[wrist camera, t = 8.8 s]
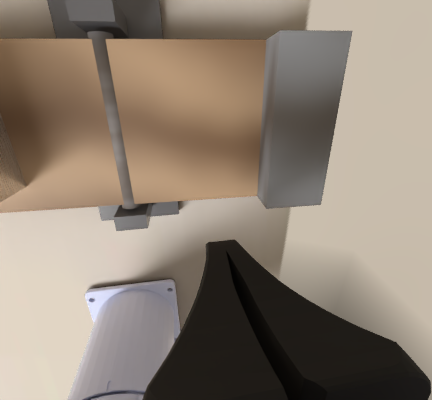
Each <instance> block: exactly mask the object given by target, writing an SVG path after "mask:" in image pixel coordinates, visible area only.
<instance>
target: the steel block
mask: <svg viewBox="0 0 432 400" xmlns="http://www.w3.org/2000/svg"><path fill="white" fill-rule="evenodd" d="M25 187H27V185H26V183H25V180H24V177H23V175H22V172H21V169H20V166H19V164H18V161H17V158H16V155H15V153H14V150H13V147H12V145H11V142H10V139H9V136H8V134H7V131H6V128H5V125H4V123H3V120H2V117H1V115H0V202H2V201H3V200H5V199H7V198H8V197H10V196H12V195H14V194H15V193H17V192H19V191H20V190H22V189H24V188H25Z"/></svg>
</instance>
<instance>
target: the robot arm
mask: <svg viewBox="0 0 432 400" xmlns="http://www.w3.org/2000/svg"><path fill="white" fill-rule="evenodd" d="M168 288H172V289H168ZM85 298H86V301H87V304H88V307H89V310H90V313H91V316H92V319H93V322H94V325H93V328H92V331H91V334H90V336H89V339H88V342H87V345H86V348H85V351H84V353H83V356H82V359H81V362H80V365H79V368H78V370H77V373H76V376H75V379H74V382H73V384H72V387H71V390H70V393H69V396H68V399H67V400H428V398H429V396H430V393H431V383H430V380H429V379H428V377H427V376H426V375H425V374H424V372H423V371H422V370H421V369H420V368H419V367H418V366H417V365H416V363H415V362H414V361H413V360H412V359H411V358H410V357H409V356H408V354H407V353H406V352H405V351H404V350H403V349H402V348H401V347H400V346H399V345H398V344H397V343H396V342H393V341H392V340H389V339H387V338H384V337H382V336H380V335H377V334H375V333H373V332H370V331H368V330H365V329H363V328H360V327H358V326H356V325H354V324H352V323H350V322H348V321H346V320H344V319H342V318H340V317H338V316H336V315H334V314H332V313H330V312H328V311H326V310H324V309H322V308H321V307H319V306H317V305H316V304H314V303H312V302H310V301H309V300H307V299H305V298H304V297H302V296H301V295H299V294H297V293H296V292H294V291H293V290H291V289H290V288H289V287H287V286H286V285H284V284H283V283H281V282H280V281H279V280H278V279H276V278H275V277H274V276H273V275H271V274H270V273H269V272H268V271H267V270H266V269H264V268H263V267H262V266H261V265H260V264H259V263H258V262H257V261H256V260H255V259H254V258H252V257H251V256H250V255H249V254H248V253H247V252H246V251H245V250H244V249H243V248H242V247H241V245H240V244H239V243H238V242H237V241H236V240H227V241H217V242H208V243H207V244H206V263H205V268H204V273H203V277H202V280H201V284H200V287H199V290H198V293H197V296H196V299H195V301H194V304H193V306H192V309H191V311H190V313H189V315H188V317H187V320H186V322H185V324H184V326H183V328H182V330H181V332H180V323H179V314H178V306H177V297H176V289H175V282H174V281H173V280H171V279H168V280H160V281H152V282H143V283H135V284H127V285H119V286H111V287H103V288H95V289H89V290H87V291H86V293H85ZM92 298H94V299H92Z"/></svg>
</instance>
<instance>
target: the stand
mask: <svg viewBox="0 0 432 400" xmlns="http://www.w3.org/2000/svg"><path fill="white" fill-rule="evenodd" d="M47 1H48V5H49V9H50V14H51V18H52V22H53V26H54V30H55V34H56V38H57V39H88V35H87V32H90V31H103V32H109V33H112V34H113V37H114V39H163V35H162V24H161V13H160V3H159V0H47ZM98 207H99V211H100V215H101V220H102V221H104V220H114V222H115V227H116V231H122V230H133V229H144V228H148V226H149V221H150V216H162V215H173V214H179V207H178V201H172V202H157V203H142V204H141V205H140V206H139V207H137V208H134V209H124V208H122V205H112V206H98Z"/></svg>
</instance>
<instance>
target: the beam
mask: <svg viewBox="0 0 432 400" xmlns="http://www.w3.org/2000/svg"><path fill="white" fill-rule="evenodd" d="M87 35H88V39H0V115H1V117H2V120H3V123H4V125H5V128H6V131H7V134H8V136H9V139H10V142H11V145H12V147H13V150H14V153H15V155H16V158H17V161H18V164H19V166H20V169H21V172H22V175H23V177H24V180H25V183H26V185H27V187H25V188H24V189H22V190H20V191H19V192H17V193H15V194H14V195H12V196H10V197H8V198H7V199H5V200H3V201H2V202H0V213H7V212H22V211H37V210H52V209H67V208H82V207H97V206H112V205H122V208H124V209H134V208H137V207H139V206H140V205H141V204H142V203H157V202H172V201H187V200H202V199H217V198H232V197H247V196H258V198H259V199H260V200H261V202H262V203H263V205H264V206H265V207H266V209H269V208H283V207H296V206H309V205H320V204H321V201H322V195H323V189H324V184H325V179H326V173H327V167H328V162H329V157H330V151H331V146H332V140H333V135H334V129H335V124H336V118H337V113H338V107H339V101H340V96H341V90H342V85H343V80H344V74H345V69H346V63H347V57H348V52H349V47H350V41H351V36H352V31H294V30H280V31H278V32H277V33H275V34H274V35H272V36H271V37H269V38H268V39H266V40H259V39H114V37H113V34H112V33H109V32H103V31H90V32H87Z"/></svg>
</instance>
